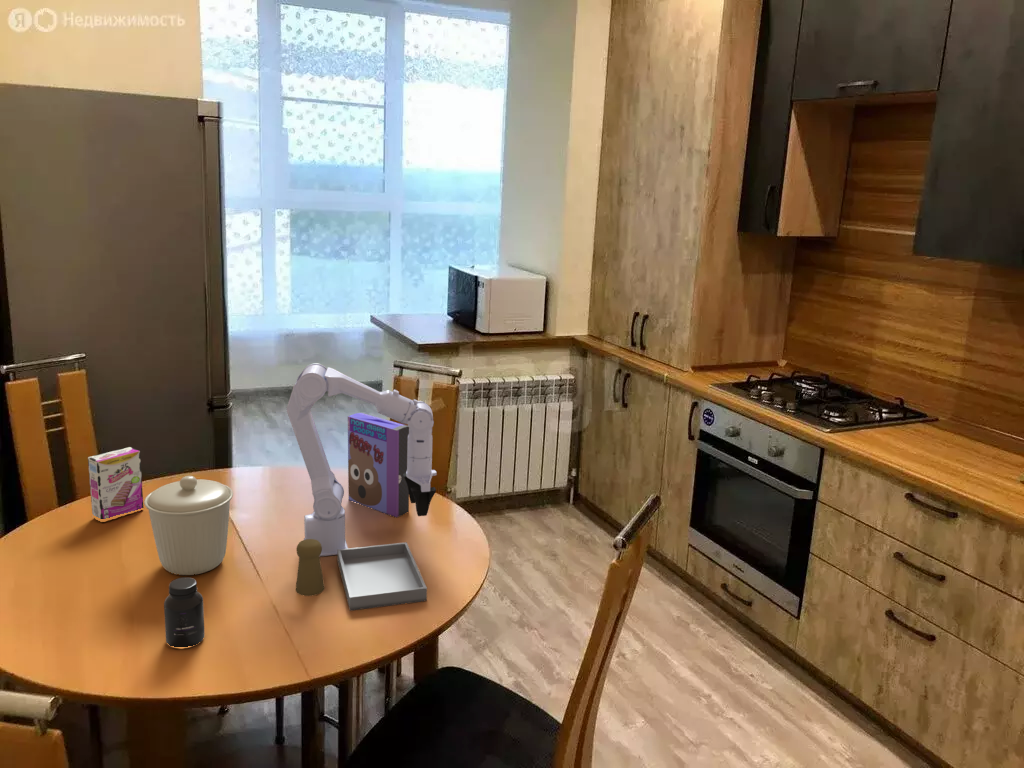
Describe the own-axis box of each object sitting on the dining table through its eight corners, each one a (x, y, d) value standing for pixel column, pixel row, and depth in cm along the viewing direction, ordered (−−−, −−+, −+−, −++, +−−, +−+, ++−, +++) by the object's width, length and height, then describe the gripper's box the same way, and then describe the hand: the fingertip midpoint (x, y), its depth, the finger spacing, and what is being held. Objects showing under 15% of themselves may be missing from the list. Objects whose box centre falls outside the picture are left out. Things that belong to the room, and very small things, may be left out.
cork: (299, 598, 170) (297, 550, 167) (292, 585, 175) (291, 538, 172) (327, 592, 172) (326, 545, 170) (320, 579, 178) (319, 533, 175)
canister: (135, 563, 181) (128, 475, 176) (212, 539, 194) (207, 456, 189) (172, 593, 169) (165, 499, 164) (251, 565, 182) (247, 478, 177)
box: (349, 610, 166) (349, 597, 165) (337, 561, 186) (337, 549, 185) (426, 600, 171) (426, 588, 170) (406, 553, 191) (406, 542, 190)
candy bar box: (102, 524, 199) (96, 461, 195) (92, 518, 202) (86, 457, 198) (145, 510, 208) (140, 450, 204) (134, 505, 211) (129, 445, 207)
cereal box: (348, 500, 220) (347, 415, 213) (361, 495, 223) (360, 411, 217) (396, 517, 210) (396, 429, 204) (408, 512, 214) (409, 425, 208)
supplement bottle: (181, 654, 149) (177, 596, 146) (158, 642, 152) (153, 585, 149) (213, 637, 154) (209, 581, 151) (189, 626, 158) (186, 570, 155)
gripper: (443, 464, 183) (442, 519, 187) (429, 443, 197) (428, 495, 200) (413, 466, 181) (412, 522, 185) (400, 445, 194) (399, 498, 198)
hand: (418, 508), depth 192 cm, fingers open, 7 cm apart
